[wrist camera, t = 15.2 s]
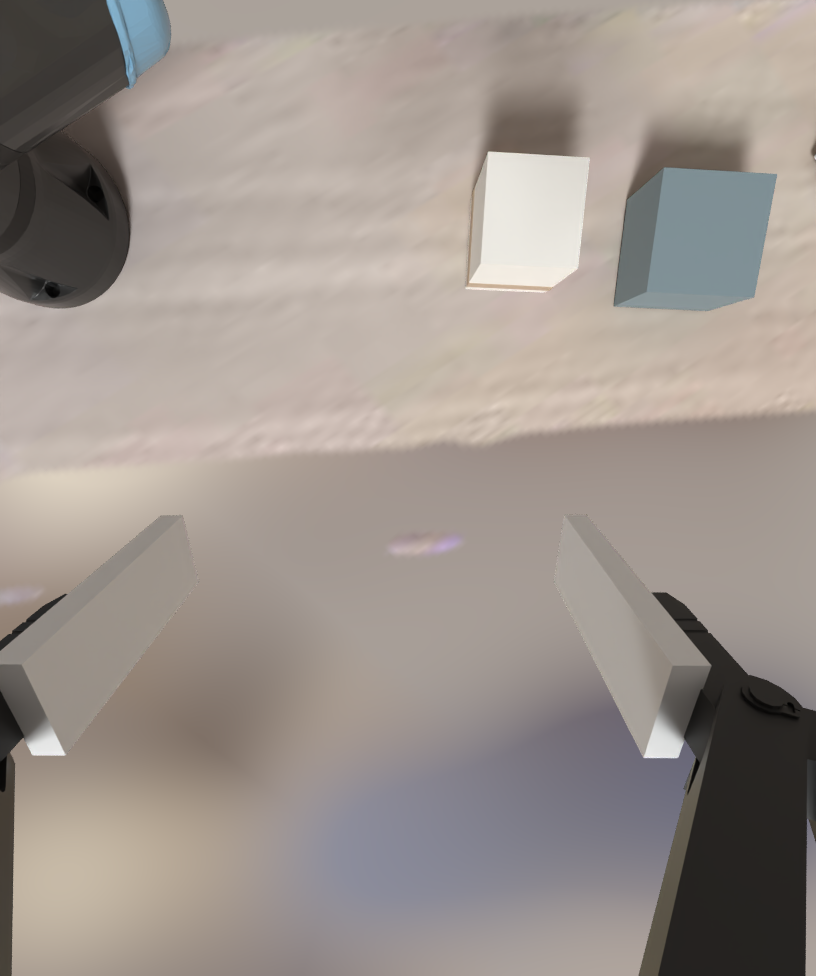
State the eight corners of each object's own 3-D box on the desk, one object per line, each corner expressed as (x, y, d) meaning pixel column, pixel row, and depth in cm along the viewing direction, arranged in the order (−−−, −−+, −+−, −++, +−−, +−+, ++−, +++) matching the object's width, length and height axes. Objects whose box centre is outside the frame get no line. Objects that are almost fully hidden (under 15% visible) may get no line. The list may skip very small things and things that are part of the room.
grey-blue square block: (613, 306, 43) (646, 291, 38) (627, 199, 41) (664, 167, 36) (707, 311, 44) (754, 297, 38) (725, 205, 42) (777, 174, 36)
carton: (464, 289, 43) (480, 264, 35) (470, 198, 41) (487, 150, 33) (545, 293, 43) (578, 269, 35) (553, 203, 41) (590, 156, 33)
